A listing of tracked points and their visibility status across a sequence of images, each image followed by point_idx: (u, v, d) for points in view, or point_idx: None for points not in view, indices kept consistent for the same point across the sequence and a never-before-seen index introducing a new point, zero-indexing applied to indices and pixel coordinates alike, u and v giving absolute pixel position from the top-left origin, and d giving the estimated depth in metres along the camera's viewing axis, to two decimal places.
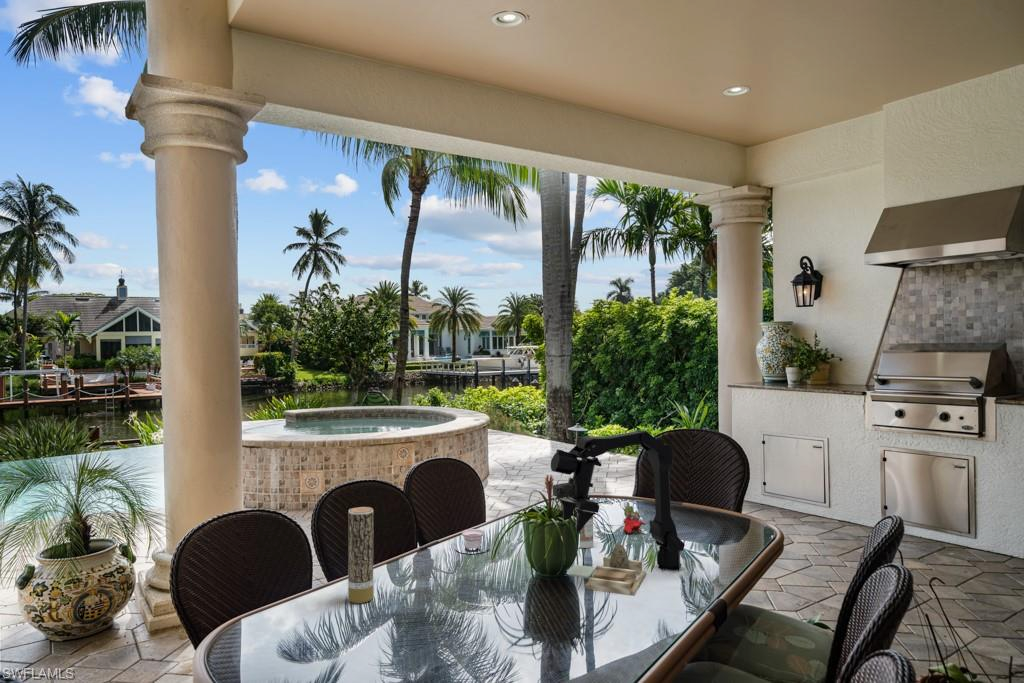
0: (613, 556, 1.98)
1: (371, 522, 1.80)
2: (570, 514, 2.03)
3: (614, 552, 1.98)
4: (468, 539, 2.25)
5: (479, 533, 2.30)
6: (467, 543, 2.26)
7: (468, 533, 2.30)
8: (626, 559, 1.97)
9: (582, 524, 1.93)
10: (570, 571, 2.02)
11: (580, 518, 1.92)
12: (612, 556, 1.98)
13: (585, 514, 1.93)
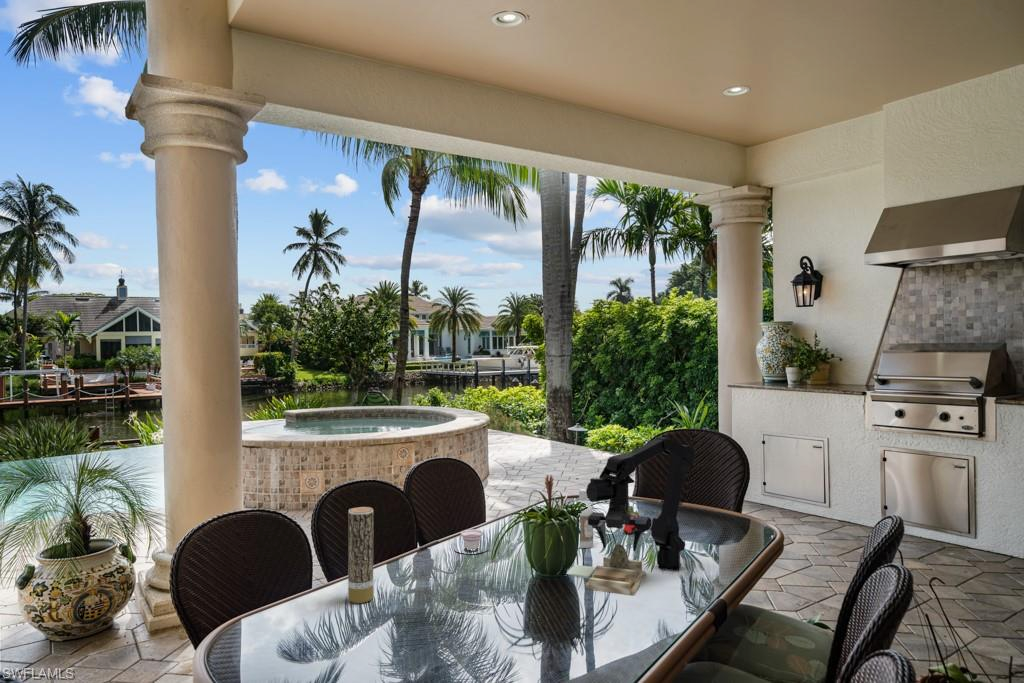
0: (613, 556, 1.98)
1: (371, 522, 1.80)
2: (605, 535, 2.02)
3: (614, 552, 1.98)
4: (467, 539, 2.25)
5: (478, 533, 2.30)
6: (466, 543, 2.25)
7: (467, 533, 2.30)
8: (626, 559, 1.97)
9: (637, 541, 1.98)
10: (570, 571, 2.02)
11: None
12: (612, 556, 1.98)
13: None
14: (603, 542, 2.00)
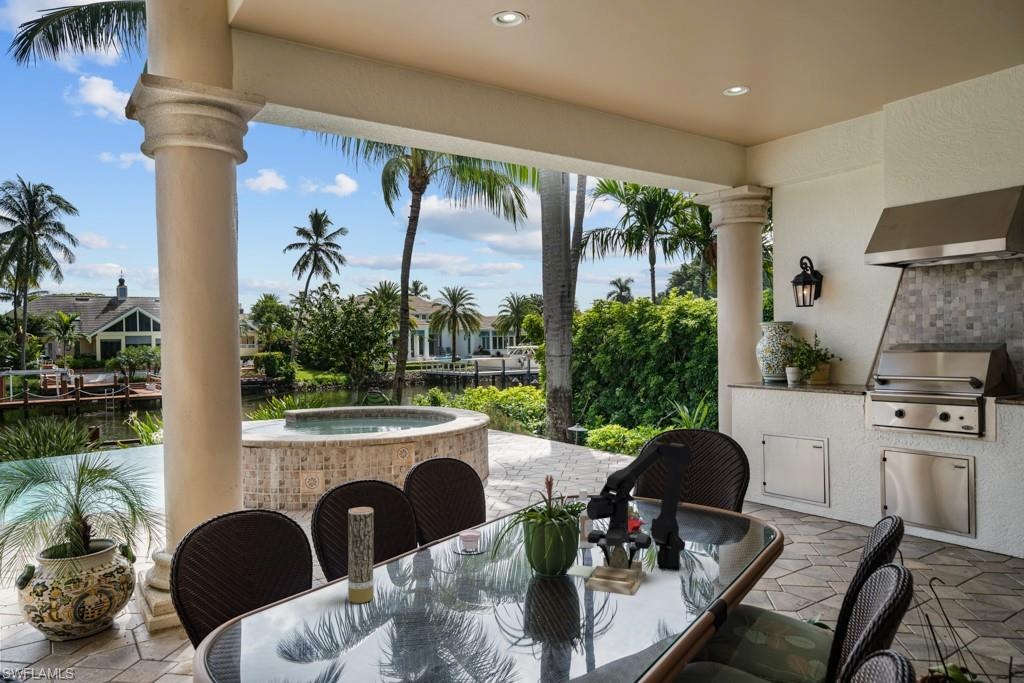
0: (613, 556, 1.98)
1: (371, 522, 1.80)
2: (609, 553, 2.02)
3: (614, 552, 1.98)
4: (465, 540, 2.24)
5: (476, 534, 2.29)
6: (464, 544, 2.25)
7: (465, 534, 2.29)
8: (626, 559, 1.97)
9: None
10: (570, 571, 2.02)
11: None
12: (612, 556, 1.98)
13: None
14: (607, 560, 2.00)
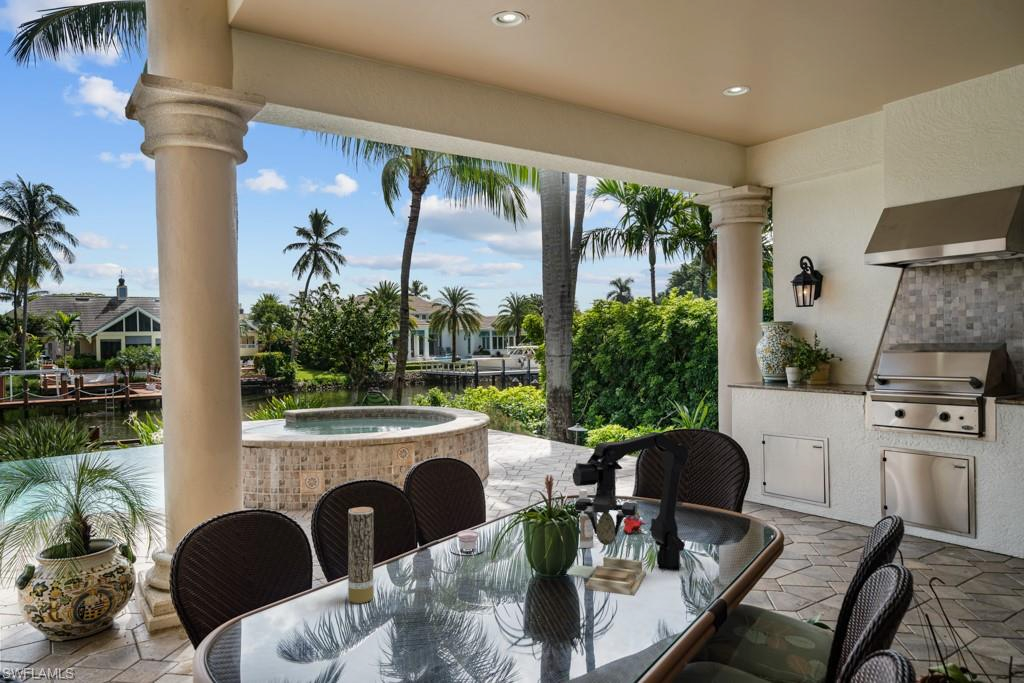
0: (600, 523, 1.99)
1: (371, 522, 1.80)
2: (596, 522, 2.03)
3: (601, 519, 1.99)
4: (463, 540, 2.23)
5: (474, 534, 2.29)
6: (462, 544, 2.24)
7: (463, 534, 2.29)
8: (613, 526, 1.99)
9: (619, 527, 2.00)
10: (570, 571, 2.02)
11: (620, 522, 1.98)
12: (599, 523, 2.00)
13: None
14: (594, 528, 2.01)
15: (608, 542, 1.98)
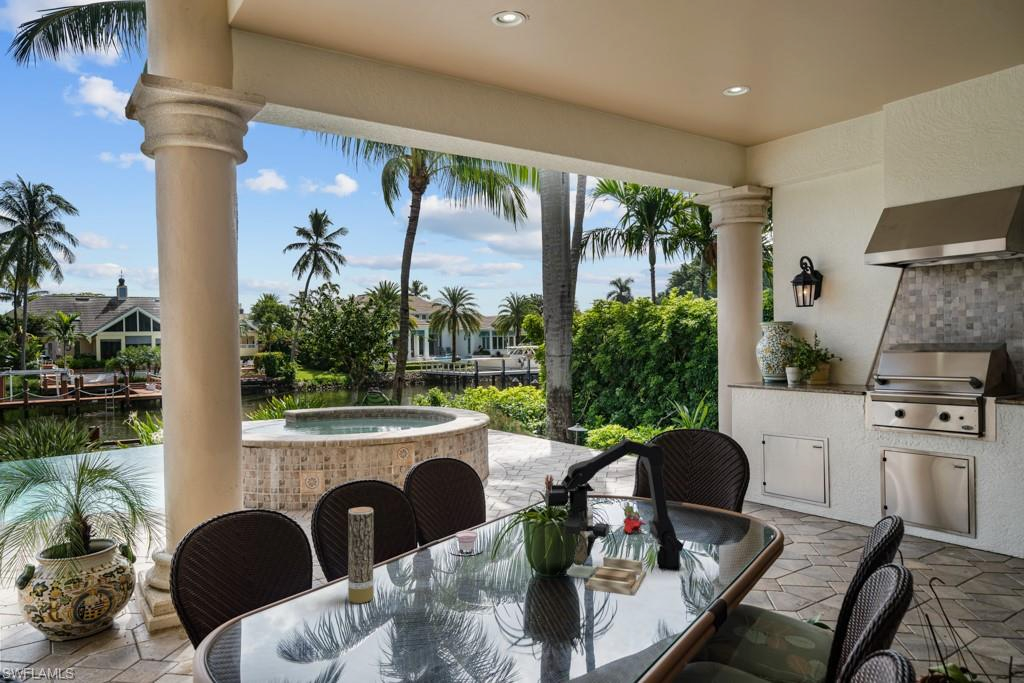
0: None
1: (371, 522, 1.80)
2: None
3: None
4: (461, 541, 2.23)
5: (473, 535, 2.28)
6: (460, 545, 2.24)
7: (462, 535, 2.28)
8: (585, 547, 2.02)
9: (591, 547, 2.03)
10: (570, 571, 2.02)
11: (592, 543, 2.02)
12: None
13: None
14: None
15: (580, 563, 2.02)
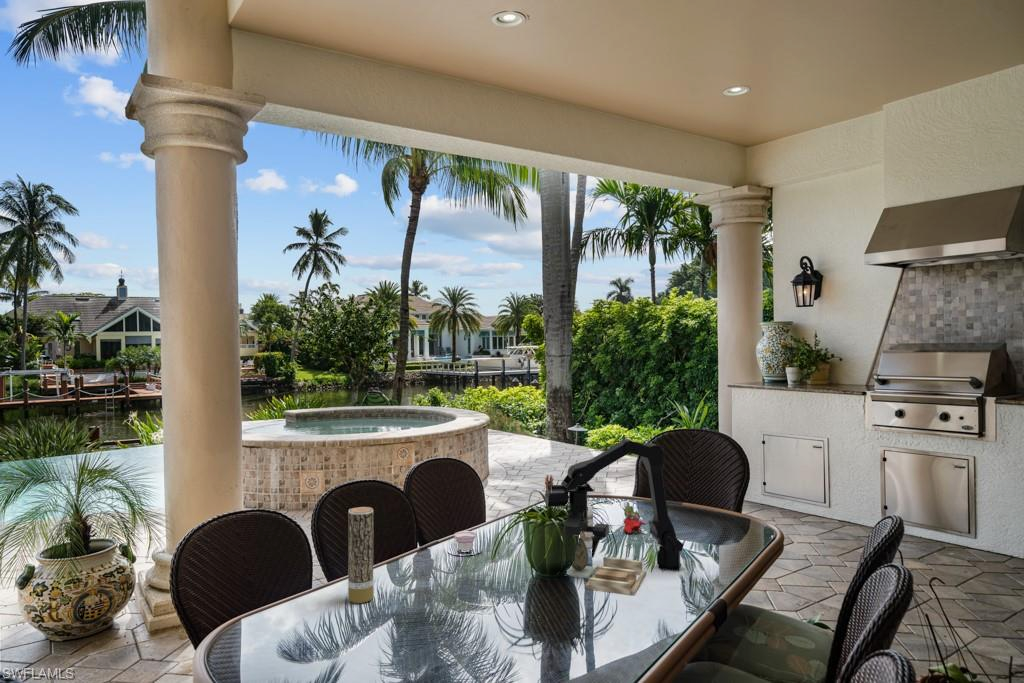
0: None
1: (371, 522, 1.80)
2: None
3: None
4: (460, 541, 2.22)
5: (471, 535, 2.28)
6: (459, 545, 2.23)
7: (460, 535, 2.28)
8: (585, 552, 2.02)
9: (596, 548, 2.03)
10: (570, 571, 2.02)
11: None
12: None
13: None
14: None
15: (580, 568, 2.02)
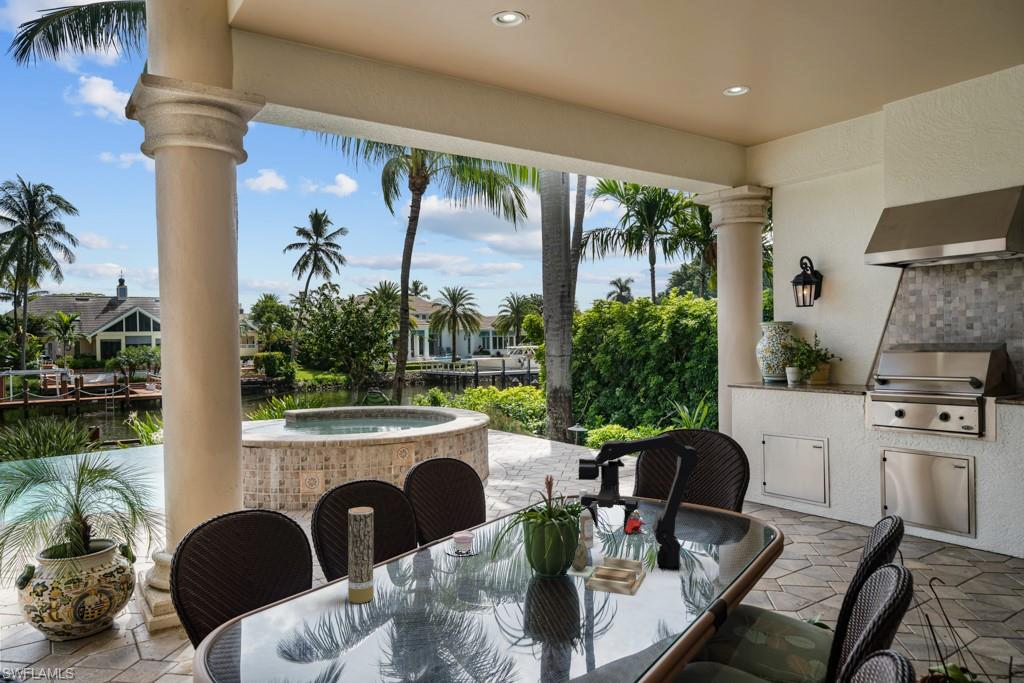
0: None
1: (371, 522, 1.80)
2: (596, 516, 2.13)
3: None
4: (458, 541, 2.22)
5: (470, 535, 2.27)
6: (457, 545, 2.23)
7: (458, 535, 2.27)
8: (585, 552, 2.02)
9: None
10: (570, 571, 2.02)
11: None
12: None
13: None
14: (595, 522, 2.11)
15: (580, 568, 2.02)
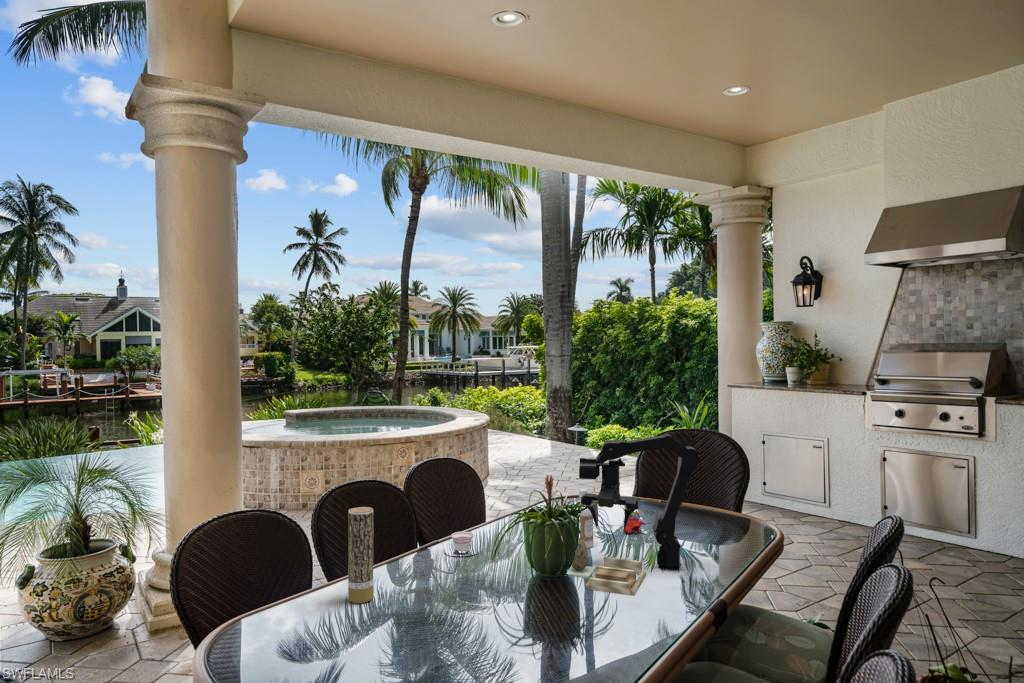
0: None
1: (371, 522, 1.80)
2: (597, 515, 2.14)
3: None
4: (457, 542, 2.22)
5: (468, 535, 2.27)
6: (456, 546, 2.23)
7: (457, 535, 2.27)
8: (585, 552, 2.02)
9: (628, 520, 2.09)
10: (570, 571, 2.02)
11: (628, 516, 2.08)
12: None
13: None
14: (595, 521, 2.12)
15: (580, 568, 2.02)
